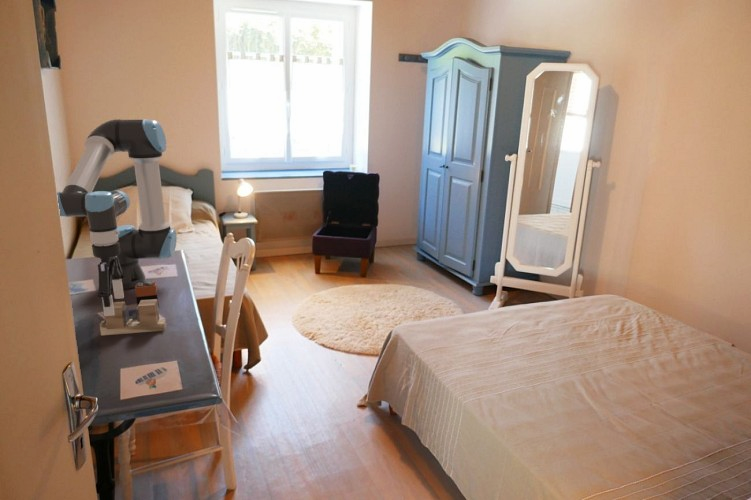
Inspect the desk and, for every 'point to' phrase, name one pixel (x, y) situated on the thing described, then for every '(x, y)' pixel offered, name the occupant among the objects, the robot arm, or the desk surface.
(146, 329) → the rail
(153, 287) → the battery
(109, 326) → the cardboard box
